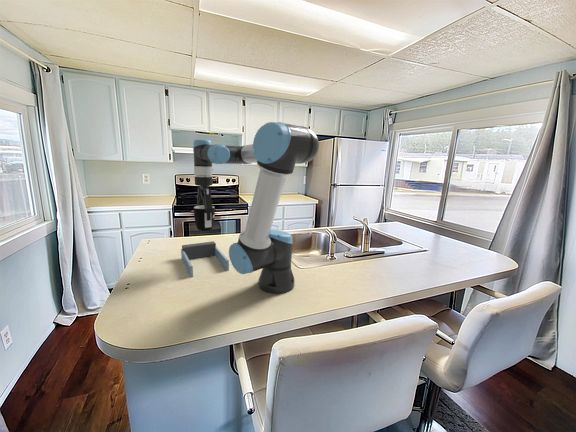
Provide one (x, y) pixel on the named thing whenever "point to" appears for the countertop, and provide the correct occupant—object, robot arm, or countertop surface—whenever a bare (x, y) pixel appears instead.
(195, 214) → the mug
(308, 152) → the robot arm
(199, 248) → the trap block
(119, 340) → the countertop surface
